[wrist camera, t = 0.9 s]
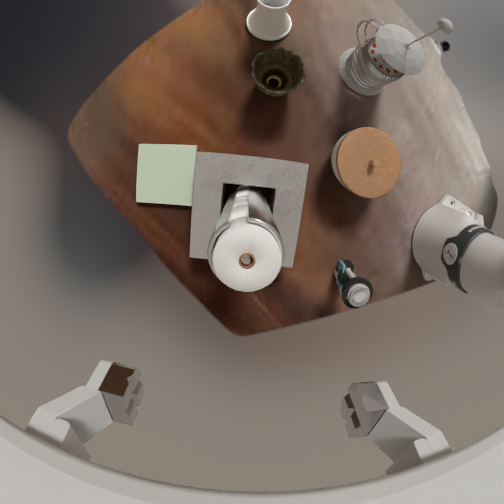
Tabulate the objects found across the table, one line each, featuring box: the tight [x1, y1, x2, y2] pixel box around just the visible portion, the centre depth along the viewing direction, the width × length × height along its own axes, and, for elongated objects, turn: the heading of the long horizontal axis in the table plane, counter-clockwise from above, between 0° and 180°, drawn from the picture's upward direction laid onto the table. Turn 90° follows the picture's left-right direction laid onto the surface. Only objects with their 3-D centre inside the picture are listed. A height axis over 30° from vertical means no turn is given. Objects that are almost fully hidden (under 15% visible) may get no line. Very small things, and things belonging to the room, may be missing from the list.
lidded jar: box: [331, 127, 401, 198], centre depth 39 cm, size 11×11×9 cm
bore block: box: [190, 152, 309, 267], centre depth 43 cm, size 16×16×6 cm
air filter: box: [207, 185, 285, 292], centre depth 34 cm, size 6×6×25 cm
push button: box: [334, 260, 373, 308], centre depth 46 cm, size 7×5×10 cm
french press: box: [339, 18, 453, 96], centre depth 25 cm, size 10×12×25 cm
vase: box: [247, 0, 292, 41], centre depth 30 cm, size 8×8×10 cm
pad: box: [136, 144, 198, 206], centre depth 43 cm, size 10×10×1 cm
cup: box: [251, 47, 306, 96], centre depth 35 cm, size 8×7×8 cm
